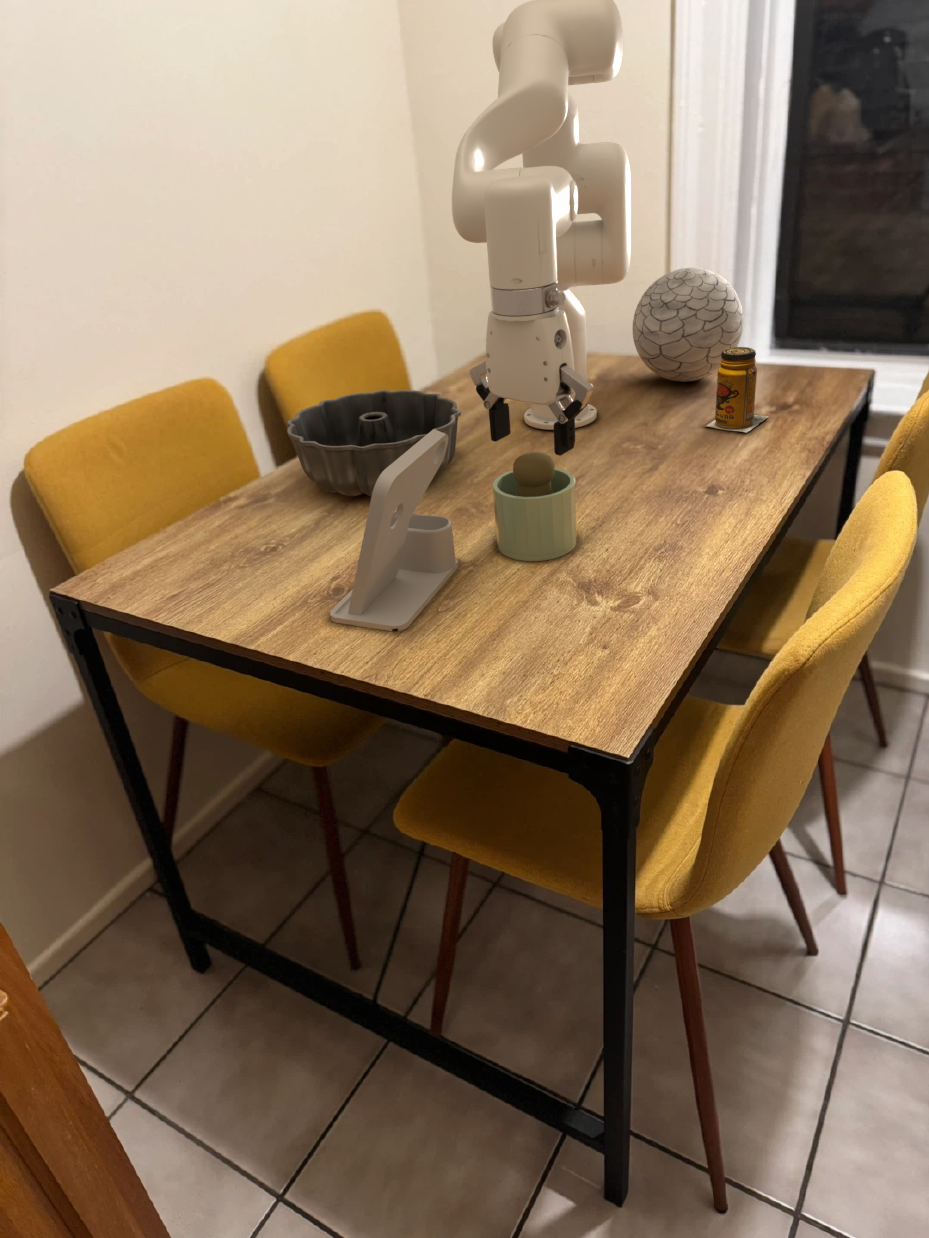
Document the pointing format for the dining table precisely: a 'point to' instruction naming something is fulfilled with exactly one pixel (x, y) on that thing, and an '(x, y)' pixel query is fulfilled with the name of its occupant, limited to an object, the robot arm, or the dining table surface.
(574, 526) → the cup
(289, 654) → the dining table surface
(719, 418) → the condiment
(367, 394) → the bundt pan
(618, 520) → the dining table surface
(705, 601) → the dining table surface
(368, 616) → the phone holder
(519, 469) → the brown game pawn
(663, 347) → the decorative sphere
